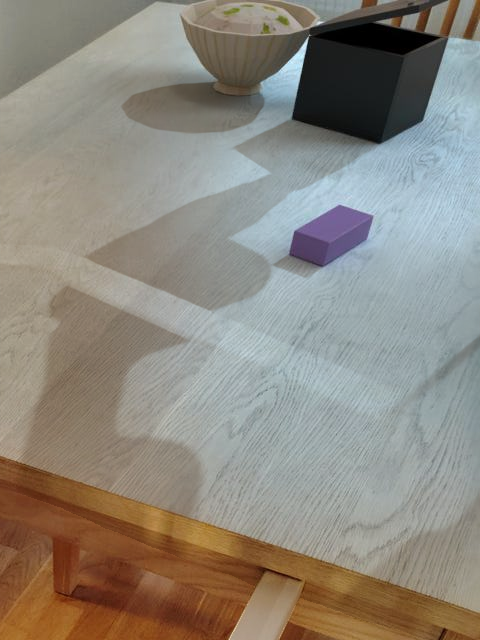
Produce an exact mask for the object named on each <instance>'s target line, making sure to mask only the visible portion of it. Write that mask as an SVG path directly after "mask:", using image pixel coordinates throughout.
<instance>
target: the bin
mask: <svg viewBox="0 0 480 640" xmlns="http://www.w3.org/2000/svg"><path fill="white" fill-rule="evenodd" d="M448 41H449V36H445V35H440V34H435V33H432V32H427V31H422V30H417V29H411V28H407V27H402V26H397V25H392V24H389V23H384V22H380V21H377V22H372V23H367V24H362V25H357V26H352V27H348V28H343V29H338V30H333V31H328V32H323V33H318V34H314V35H309V37H308V38H307V44H306V48H305V52H304V57H303V63H302V65H301V66H302V67H301V72H300V76H299V81H298V86H297V91H296V95H295V100H294V105H293V109H292V114H291V119H292V120H295V121H298V122H302V123H305V124H308V125H309V124H310V125H313V126H316V127H319V128H323V129H327V130H331V131H334V132H337V133H342V134H344V135H348V136H351V137H356V138H358V139H359V138H360V139H363V140H366V141H370V142H373V143H377V144H382V143H384V142H386V141H388V140H390V139H392V138H393V137H396V136H397V135H399V134H401V133H403V132H405V131H407V130H408V129H410V128H412V127H414V126H416V125H418V124H420V123H421V122H423V121H424V119H425V115H426V113H427V109H428V106H429V102H430V99H431V96H432V94H433V90H434V87H435V84H436V81H437V77H438V74H439V71H440V68H441V64H442V61H443V57H444V55H445V51H446V48H447V46H448Z"/></svg>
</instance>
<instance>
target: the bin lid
mask: <svg viewBox="0 0 480 640" xmlns="http://www.w3.org/2000/svg"><path fill="white" fill-rule="evenodd" d="M447 1H449V0H395V1H390V2H386V3H380V4H377V5H372V6H367V7H361V8H358V9H354V10H352V11H349V12H347V13H344V14H341V15H339V16H336V17H333V18H331V19H329V20H326V21H324V22H321V23H319V24H316V26H313V27H311V28H310V35H314V34H318V33H323V32H328V31H333V30H338V29H343V28H348V27H352V26H357V25H362V24H367V23H372V22H381V21H385V20H390V19H396V18H401V17H404V16H405V17H406V16H411V15H414V14H419V13H422V12H424V11H426V10H429V9H432V8H433V7H436V6H438V5H441V4H443V3H445V2H447ZM310 35H309V36H310Z"/></svg>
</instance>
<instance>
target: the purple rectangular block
mask: <svg viewBox="0 0 480 640" xmlns="http://www.w3.org/2000/svg"><path fill="white" fill-rule="evenodd" d="M373 220H374V215H373V214H370V213H367V212H364V211H360V210H357V209H355V208H351V207H349V206H345V205H342V204H338V205H337V206H335V207H333V208H331V209H329V210H328V211H326V212H325V213H322V214H321V215H319V216H317V217H315V218H314V219H312V220H310V221H308V222H307V223H305V224H304V225H302V226H300V227H298V228H297V229H295V230H293V234H292V239H291V244H290V248H289V251H288V254H289V255H291V256H294V257H297V258H299V259H302V260H305V261H308V262H310V263H313V264H316V265H318V266H322V267H325V266H326V265H328V264H329V263H331V262H332V261H334V260H335V259H337V258H338V257H340V256H342V255H343V254H345V253H347V252H348V251H350V250H351V249H353V248H355V247H356V246H358V245H359V244H361V243H362V242H364V241H366V240H367V239H368V237H369V234H370V231H371V227H372V225H373Z"/></svg>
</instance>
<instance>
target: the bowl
mask: <svg viewBox="0 0 480 640" xmlns="http://www.w3.org/2000/svg"><path fill="white" fill-rule="evenodd" d="M179 17H180V20H181V24H182V27H183V31H184V34H185V38H186V40H187V42H188V43H189V45H190V47H191V48H192V51H193V52H194V54H195V55H196V57H197V60H199V62H200V64H201V65H202V66H203V68H204V69H205V70H206V71H207V72H208V73H209V74H210V75H212V77H214V78H215V79H216V80H217V81H216V82H215V83H214V84H213V86H212V87H213V89H214V90H215V91H217V92H219V93H221V94H225V95H229V96H230V95H231V96H237V97H238V96H252V95H255V94H258V93H260V92H261V91H262V90H263V86H262V84H261V83H262V82H264V81H266V80H268V79H269V78H270V77H272V76H275V74H277V73H279V72H280V71H281V70H282V69H283V68H284V67H285V66H286V65H287V64H288V63H289V62H290V60H292V59H293V57H295V55H297V54H298V53H299V51H300V50H301V49H302V47H303V46H304V44H305V43H306V41H308V37H309V36H310V28H311V27H313V26H316V25H318V22H319V21H320V20H321V18H322V17H321V16H320V15H318V14H317V13H316V12H315V11H313V10H312V9H311V8H310V7H307V6H303V5H300V4H297V3H293V2H289V1H286V0H202V1H198V2H194V3H190V4H188V5H186V7H185V8H184V9H182V10H181V11H180V12H179Z"/></svg>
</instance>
